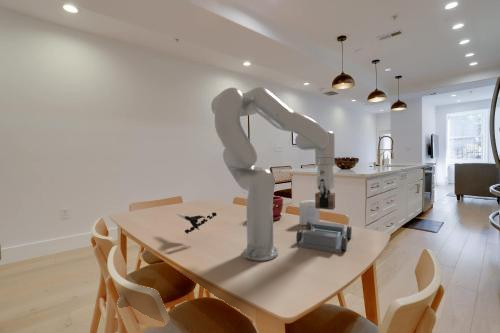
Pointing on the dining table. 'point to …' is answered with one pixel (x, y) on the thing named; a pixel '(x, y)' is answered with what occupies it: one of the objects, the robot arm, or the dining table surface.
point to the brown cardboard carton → (330, 201)
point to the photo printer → (308, 212)
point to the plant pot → (278, 209)
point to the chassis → (324, 236)
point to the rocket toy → (195, 221)
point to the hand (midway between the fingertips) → (325, 205)
